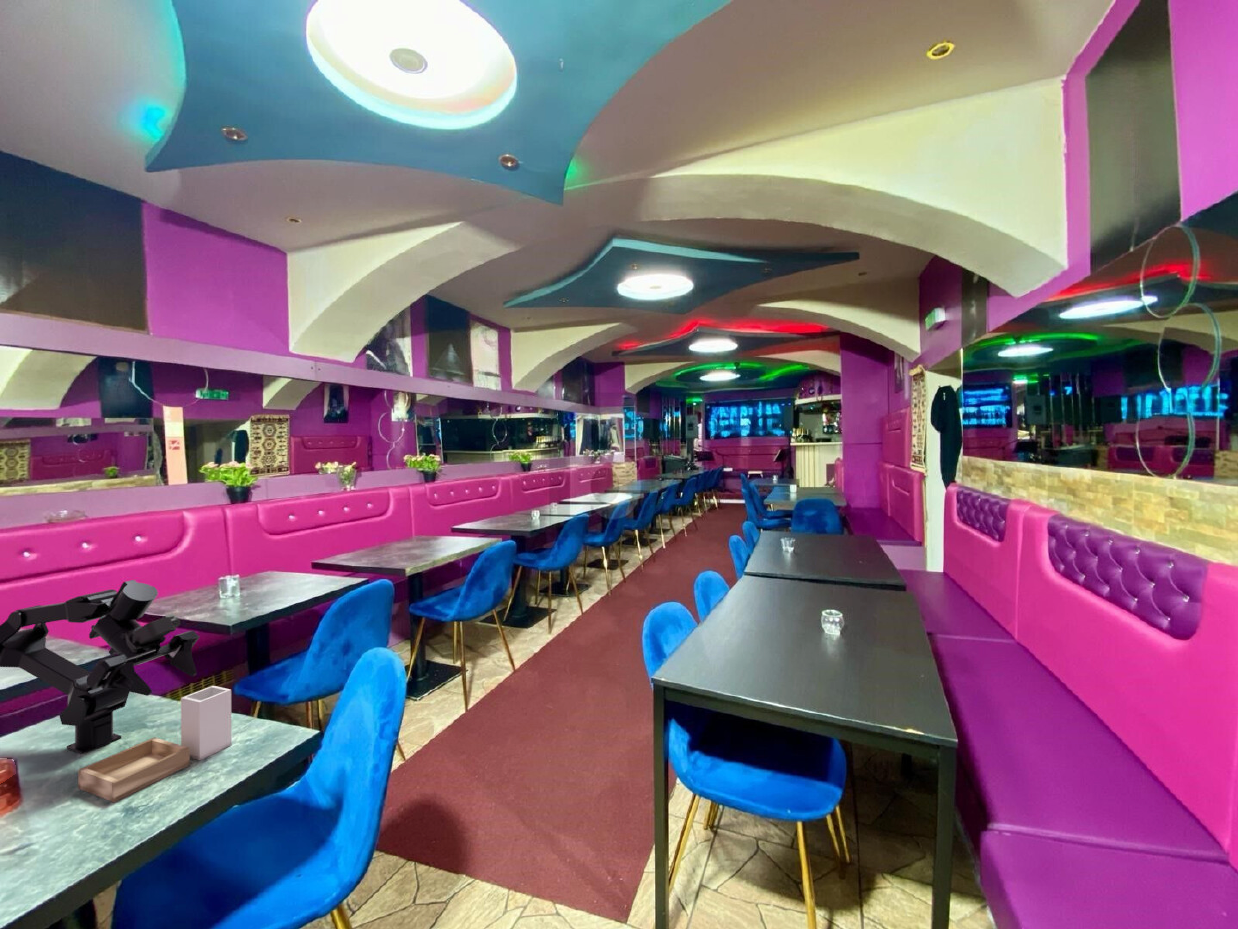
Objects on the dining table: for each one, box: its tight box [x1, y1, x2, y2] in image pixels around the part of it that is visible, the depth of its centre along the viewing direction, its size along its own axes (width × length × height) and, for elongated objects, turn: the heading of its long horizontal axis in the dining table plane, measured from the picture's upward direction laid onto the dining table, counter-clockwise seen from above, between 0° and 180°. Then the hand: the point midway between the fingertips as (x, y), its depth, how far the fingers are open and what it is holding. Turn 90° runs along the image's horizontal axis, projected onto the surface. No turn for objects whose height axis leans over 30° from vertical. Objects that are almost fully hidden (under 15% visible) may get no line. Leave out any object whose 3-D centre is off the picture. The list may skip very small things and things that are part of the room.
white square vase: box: [180, 685, 232, 761], centre depth 104 cm, size 6×6×12 cm
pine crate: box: [77, 737, 191, 803], centre depth 95 cm, size 12×12×4 cm
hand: (173, 683), depth 104 cm, fingers open, 9 cm apart
